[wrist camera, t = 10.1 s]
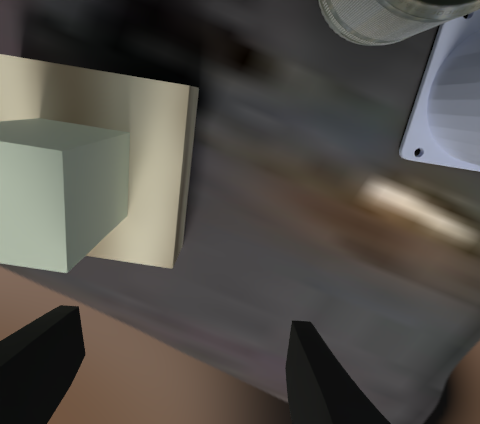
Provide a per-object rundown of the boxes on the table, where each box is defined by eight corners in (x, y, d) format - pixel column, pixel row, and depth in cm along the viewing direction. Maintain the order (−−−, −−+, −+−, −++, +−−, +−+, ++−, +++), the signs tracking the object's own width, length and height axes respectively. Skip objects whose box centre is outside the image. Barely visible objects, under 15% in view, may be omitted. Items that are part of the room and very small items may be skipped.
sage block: (130, 132, 16) (62, 150, 10) (127, 215, 17) (67, 272, 11) (39, 117, 15) (-82, 128, 10) (44, 203, 17) (-58, 254, 11)
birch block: (198, 87, 18) (189, 85, 15) (182, 245, 21) (172, 268, 18) (20, 58, 17) (-25, 50, 14) (33, 223, 21) (-1, 242, 18)
